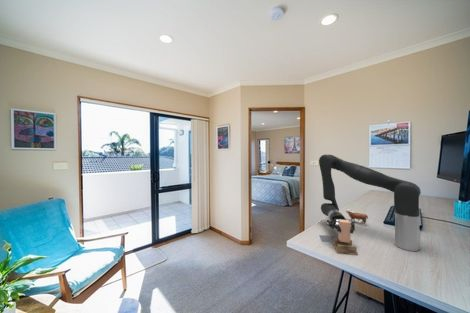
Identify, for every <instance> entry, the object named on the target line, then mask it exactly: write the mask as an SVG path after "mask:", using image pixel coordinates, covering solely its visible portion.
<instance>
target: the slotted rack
mask: <svg viewBox="0 0 470 313" xmlns="http://www.w3.org/2000/svg"><path fill="white" fill-rule="evenodd" d="M332 245H333V248H334V250H335V253H337V254H340V255H348V256H349V255H350V256H359V253H358V252H357V246H356V245H353V240H352V239H350V243H349V242H340V240H339V239H338V238H334V243H332Z"/></svg>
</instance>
